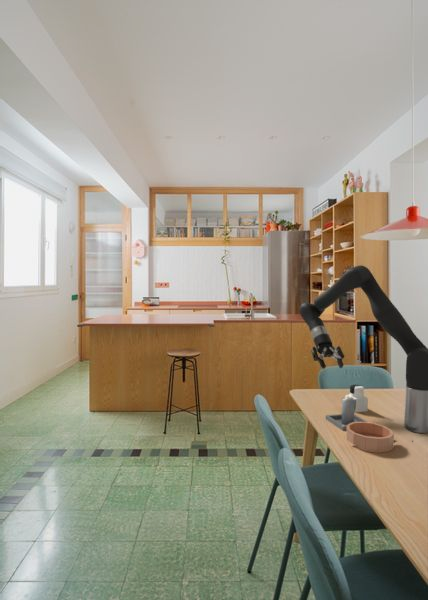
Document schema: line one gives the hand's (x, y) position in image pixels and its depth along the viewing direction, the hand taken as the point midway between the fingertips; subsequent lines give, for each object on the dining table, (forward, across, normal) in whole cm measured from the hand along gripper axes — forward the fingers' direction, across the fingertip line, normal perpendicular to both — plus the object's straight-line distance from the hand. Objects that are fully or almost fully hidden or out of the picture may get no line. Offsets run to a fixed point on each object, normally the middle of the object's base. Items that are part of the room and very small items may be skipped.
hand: (333, 367), depth 177 cm
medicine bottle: (+14, +14, +17) cm, 26 cm away
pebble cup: (+24, 0, +5) cm, 24 cm away
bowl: (+36, -2, -6) cm, 37 cm away
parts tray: (+24, 0, +6) cm, 25 cm away
